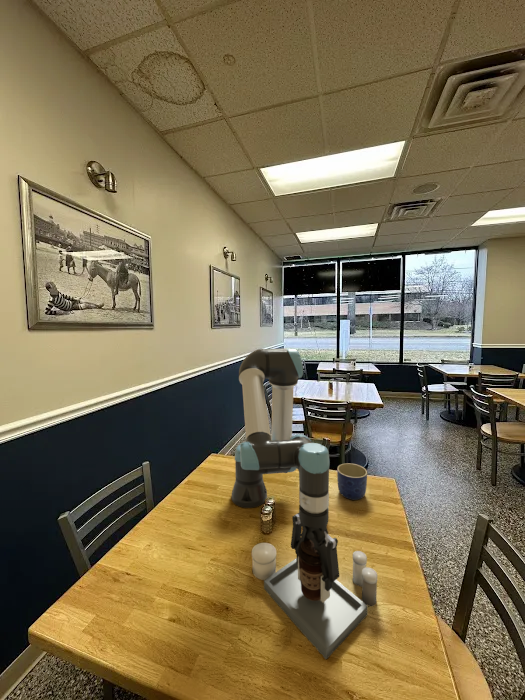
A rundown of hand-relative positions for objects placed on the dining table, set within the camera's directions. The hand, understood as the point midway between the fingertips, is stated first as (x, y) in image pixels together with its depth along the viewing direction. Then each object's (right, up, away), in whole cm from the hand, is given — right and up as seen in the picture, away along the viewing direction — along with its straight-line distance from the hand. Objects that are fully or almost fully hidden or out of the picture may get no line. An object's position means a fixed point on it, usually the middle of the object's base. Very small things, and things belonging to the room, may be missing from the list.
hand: (313, 587), depth 77 cm
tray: (0, -4, 0) cm, 4 cm away
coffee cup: (0, -1, 0) cm, 1 cm away
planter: (+25, 0, +49) cm, 55 cm away
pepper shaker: (+15, -4, +1) cm, 16 cm away
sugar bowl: (-13, -3, +11) cm, 17 cm away
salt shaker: (+14, -3, +6) cm, 16 cm away
